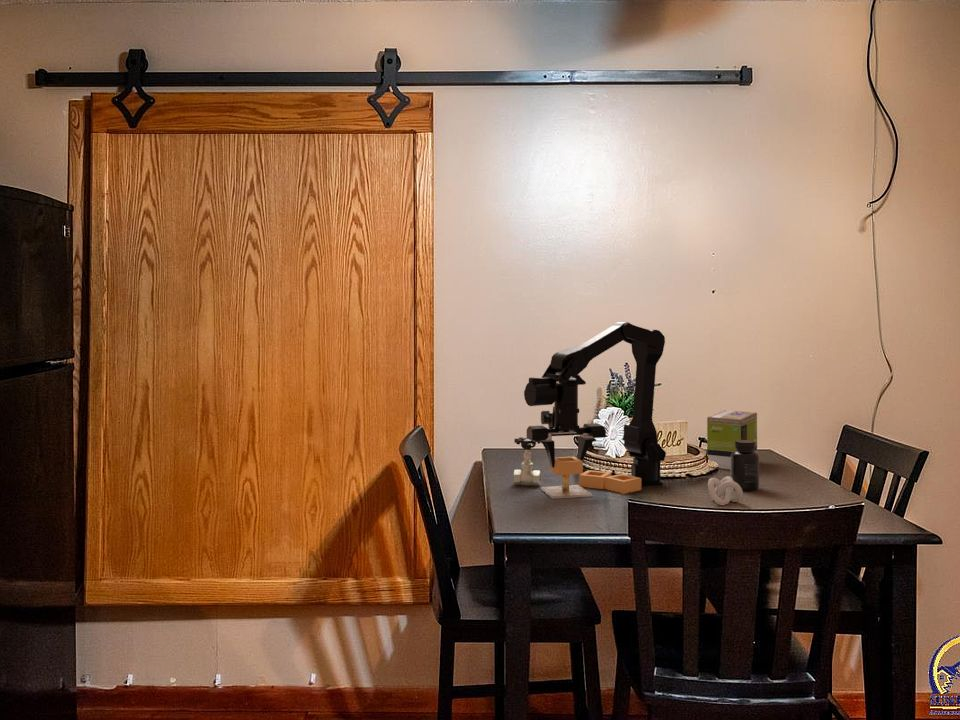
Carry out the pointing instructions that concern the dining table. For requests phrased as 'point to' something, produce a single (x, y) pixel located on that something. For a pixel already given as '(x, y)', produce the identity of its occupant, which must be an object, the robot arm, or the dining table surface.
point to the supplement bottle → (745, 465)
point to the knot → (724, 490)
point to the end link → (567, 466)
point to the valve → (527, 465)
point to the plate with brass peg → (565, 490)
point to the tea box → (729, 434)
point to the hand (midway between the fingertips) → (566, 466)
